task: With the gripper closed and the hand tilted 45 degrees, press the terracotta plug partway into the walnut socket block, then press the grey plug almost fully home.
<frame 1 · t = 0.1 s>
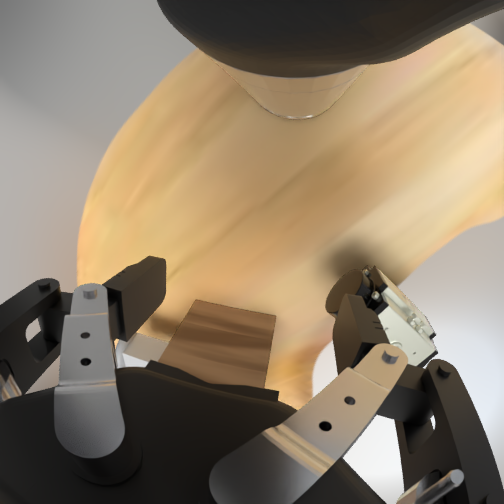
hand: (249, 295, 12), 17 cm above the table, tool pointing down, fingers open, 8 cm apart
pneumatic valve: (371, 281, 29), on the table
grey plug: (165, 365, 30), point 7 cm above the table, slide at 0.0 cm
socket block: (228, 370, 38), on the table
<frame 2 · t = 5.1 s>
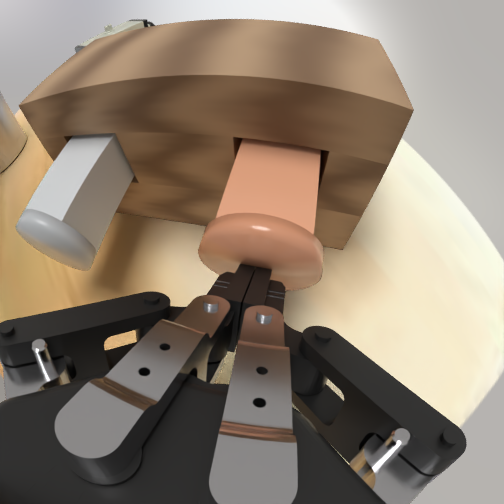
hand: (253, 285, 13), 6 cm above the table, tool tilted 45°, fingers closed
pneumatic valve: (128, 94, 32), on the table
terracotta plug: (277, 176, 15), point 7 cm above the table, slide at 1.4 cm, touching gripper
grey plug: (90, 175, 15), point 7 cm above the table, slide at 0.0 cm
socket block: (214, 177, 24), on the table
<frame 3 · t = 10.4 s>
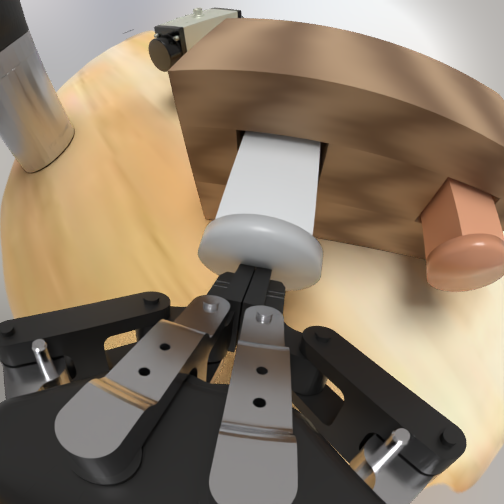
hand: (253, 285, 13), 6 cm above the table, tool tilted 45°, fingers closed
pneumatic valve: (205, 89, 32), on the table
terracotta plug: (454, 198, 14), point 7 cm above the table, slide at 2.5 cm
grey plug: (277, 177, 15), point 7 cm above the table, slide at 0.7 cm, touching gripper
socket block: (349, 194, 23), on the table
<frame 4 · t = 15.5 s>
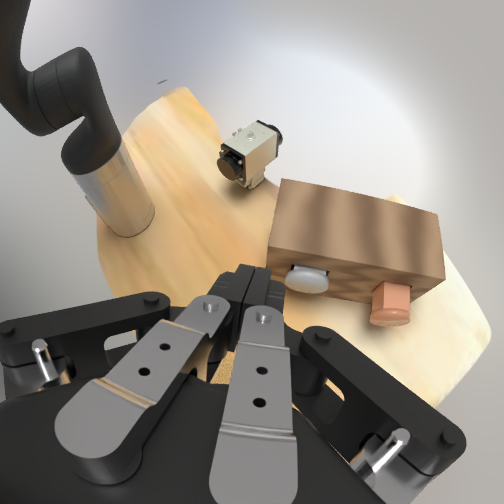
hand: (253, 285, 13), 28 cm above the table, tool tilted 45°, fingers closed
pneumatic valve: (249, 180, 52), on the table
terracotta plug: (391, 282, 35), point 7 cm above the table, slide at 2.5 cm
grey plug: (311, 247, 37), point 7 cm above the table, slide at 5.5 cm
socket block: (340, 268, 43), on the table
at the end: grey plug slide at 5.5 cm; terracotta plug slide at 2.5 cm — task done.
